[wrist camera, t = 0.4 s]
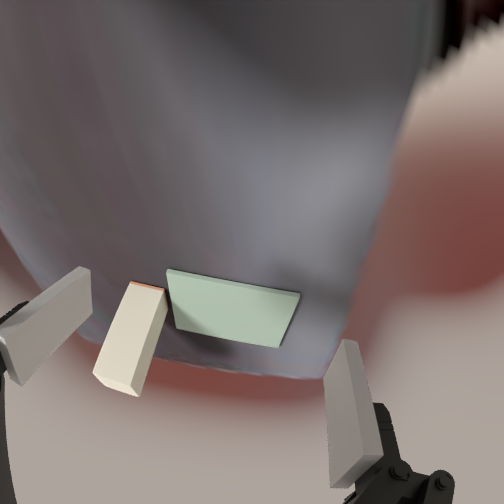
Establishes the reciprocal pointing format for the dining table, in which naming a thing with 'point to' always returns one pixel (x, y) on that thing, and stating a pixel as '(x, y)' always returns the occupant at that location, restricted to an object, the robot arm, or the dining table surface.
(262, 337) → the sage mat
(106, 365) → the cream block
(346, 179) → the dining table surface
